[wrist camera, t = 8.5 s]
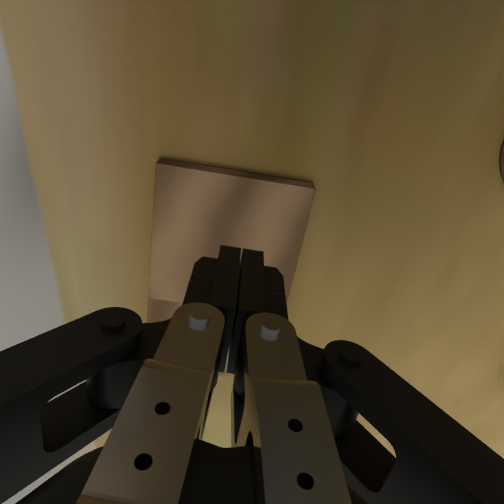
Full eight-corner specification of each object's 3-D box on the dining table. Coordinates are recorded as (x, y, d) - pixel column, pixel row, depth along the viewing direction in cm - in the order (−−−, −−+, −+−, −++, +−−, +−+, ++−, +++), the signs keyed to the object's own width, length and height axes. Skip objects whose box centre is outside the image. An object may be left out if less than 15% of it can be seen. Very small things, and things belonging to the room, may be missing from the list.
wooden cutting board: (312, 182, 31) (315, 189, 29) (266, 369, 40) (266, 380, 39) (160, 158, 30) (156, 163, 28) (148, 355, 39) (144, 366, 38)
